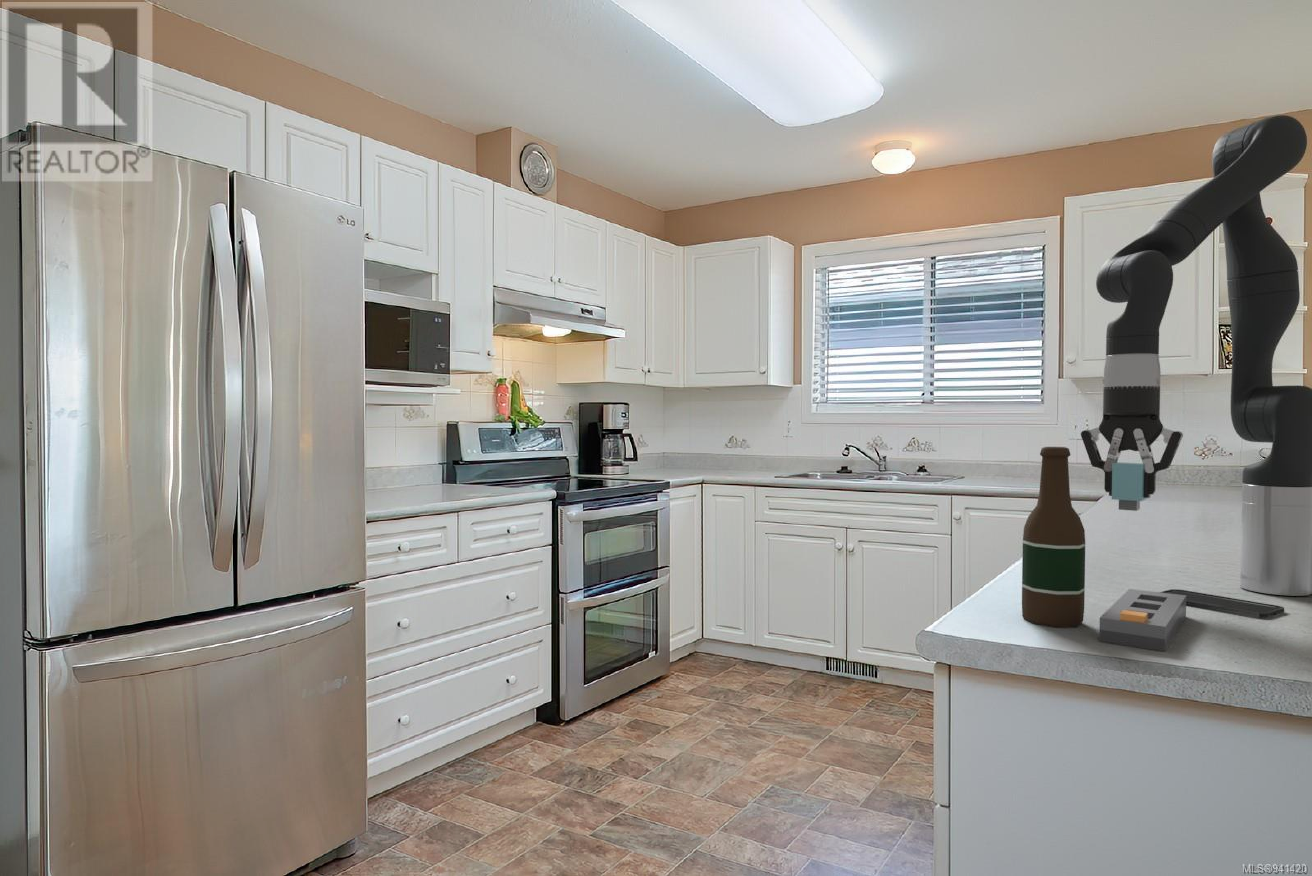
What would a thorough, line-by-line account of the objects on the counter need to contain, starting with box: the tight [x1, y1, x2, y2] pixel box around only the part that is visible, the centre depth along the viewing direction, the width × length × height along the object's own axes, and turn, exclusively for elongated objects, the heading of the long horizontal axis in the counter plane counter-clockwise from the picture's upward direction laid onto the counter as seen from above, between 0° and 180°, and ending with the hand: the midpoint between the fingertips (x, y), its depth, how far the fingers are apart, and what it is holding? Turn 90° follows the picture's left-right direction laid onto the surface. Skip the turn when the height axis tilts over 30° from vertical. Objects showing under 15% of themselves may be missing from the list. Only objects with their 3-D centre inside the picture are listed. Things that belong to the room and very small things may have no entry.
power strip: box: [1098, 588, 1187, 652], centre depth 107 cm, size 22×7×4 cm, turn 141°
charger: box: [1111, 461, 1148, 512], centre depth 124 cm, size 5×4×7 cm
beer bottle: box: [1021, 446, 1086, 628], centre depth 111 cm, size 8×8×24 cm
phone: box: [1160, 588, 1285, 620], centre depth 121 cm, size 8×1×15 cm
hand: (1129, 496), depth 124 cm, fingers closed on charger, 4 cm apart
